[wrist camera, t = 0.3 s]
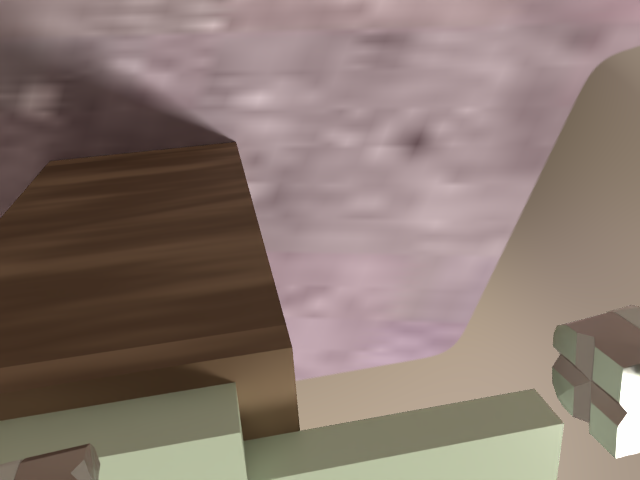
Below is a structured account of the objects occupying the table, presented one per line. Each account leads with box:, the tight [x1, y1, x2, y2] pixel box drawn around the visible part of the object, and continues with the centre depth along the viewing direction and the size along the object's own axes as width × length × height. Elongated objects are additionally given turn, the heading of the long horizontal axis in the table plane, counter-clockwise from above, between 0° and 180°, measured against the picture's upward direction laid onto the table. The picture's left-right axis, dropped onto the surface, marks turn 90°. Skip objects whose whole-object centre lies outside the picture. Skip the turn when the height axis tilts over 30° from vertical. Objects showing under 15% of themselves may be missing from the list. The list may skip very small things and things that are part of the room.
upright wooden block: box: [0, 142, 300, 441], centre depth 34 cm, size 10×14×30 cm
